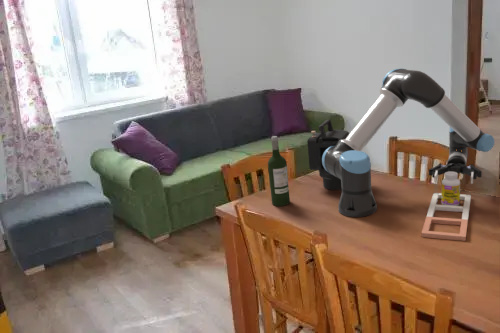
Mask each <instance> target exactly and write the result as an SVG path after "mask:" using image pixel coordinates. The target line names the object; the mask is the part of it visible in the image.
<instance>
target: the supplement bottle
mask: <svg viewBox="0 0 500 333" xmlns="http://www.w3.org/2000/svg"><path fill="white" fill-rule="evenodd" d="M458 175H459V174H458V173H457V172H452V171H450V172H445V173H444V178H443V179H442V180H441V193H442V199H441V205H452V206H460V204H461V202H460V194H461V181H460V179H459V178H458V177H459V176H458Z"/></svg>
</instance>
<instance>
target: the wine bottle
mask: <svg viewBox="0 0 500 333" xmlns="http://www.w3.org/2000/svg"><path fill="white" fill-rule="evenodd" d="M271 150H272V155H271V157H270V158H269V159H268V161H267V169H268V176H269V177H268V178H269V179H268V180H269V188H270V196H271V198H270V199H271V204H272V205H273V206H276V207H283V206H284V205H285V206H287V205H289V204H290V202H291V200H290V198H291V197H290V189H289V188H290V187H289V179H288V178H289V177H288V168H287V167H288V166H287V160H286V159H285V157H283V156H282V155H281V153H280V145H279V138H278V136H277V135H273V136H271Z"/></svg>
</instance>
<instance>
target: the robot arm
mask: <svg viewBox="0 0 500 333" xmlns="http://www.w3.org/2000/svg"><path fill="white" fill-rule="evenodd" d="M379 92H380V94H379V96H378V98H377V99H376V100H375V101H374V102H373V104H372V105H371V106H370V107H369V109H368V110H367V111H366V113H364V115H363V116H362V117H361V118H360V120H359V121H358V122H357V124H356V125H355V126H354V128H352V130H351V131H350V133H349V135H348V136H347V137H346V139H343V140H339V141H338V143H337V144H336V145H335V146H332V147H329V148H327V149H326V150H325V152H324V153H323V156H322V164H323V167H324V168H325V170H326V171H327V172H329V173H330V174H331V175H334V176H335V177H337V178H339V179H340V180H341V186H342V189H341V195H340V197H339V202H338V207H337V208H338V212H339V213H340V215H343V216H346V217H351V218H352V217H353V218H362V217H367V216H370V215H371V216H372V215H373V214H375V213H376V212H377V210H378V208H377V207H378V206H377V205H378V204H377V201H376V200H375V195H374V194H373V191H372V171H371V170H372V168H371V167H372V163H371V159H370V157H371V156H369V154H368V153H366V152H365V151H364V149H365V148H366V147H367V146H368V144H369V143H370V142H371V140H372V139H373V138H374V136H376V134H377V133H378V132H379V130H380V129H381V127H383V125H384V124H385V122H386V121H387V120H388V119H389V117H390V116H391V115H392V114H393V113H394V111H396V109H397V108H400V107H403V106H404V105H405V104H406V103H407V102H408V100H412V101H415V102H418V103H419V104H421V105H422V106H423V107H425V108H426V109H431V111H433V112H434V113H435V114H436V115H437V116H438V117H439V118H440V119H441V120H442V121H443V122H444V123H446V124H447V126H449V131H448V133H449V134H448V136H449V138H448V139H449V141H448V142H449V148H448V150H449V152H448V159H447V163H446V164H444V165H443V164H442V163H438V164H437V165H435V166H433V167H431V168H429V169H428V176H432V178H433V180H434V181H433V182H434V183H437V181H438V176H440V175H445V172H450V171H452V172H457V173H458V175H459V174H461V175H467V176H469V177H470V184H474V180H477V178H482V176H483V175H482V170H480V169H478V168H477V167H476V166H474V164H470V165H469V166H467V159H468V155H469V152H468V148H469V149H473V150H475V151H478V152H483V153H488V152H490V151H491V150H492V149H493V148H494V145H495V138H494V136H493V135H491V134H489V133H485V132H484V131H483V130H481V129H480V128H479V127H478V126H477V125H476V123H475V122H473V120H471V119H470V118H469V117H468V116H467V115H466V114H465V113H464V112H463V111H462V110H461V109H460V108H459V107H458V106H457V104H455V103H454V102H453V101H452V99H450V97H448V96H447V95H446V90H445V89H444V88H443V87H442V86H441V85H440V84H439V83H438V82H437V81H436V80H435V79H433V78H432V77H431V76H429V75H428V74H427V73H425V72H423V71H421V70H415V69H414V70H413V69H406V68H395V69H391V70H390V71H388V72H387V73H386V74H385V75H384V77H383V79H382V85H381V88H380V89H379ZM456 149H457V151H456ZM461 150H462V152H461Z"/></svg>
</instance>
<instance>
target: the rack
mask: <svg viewBox="0 0 500 333" xmlns="http://www.w3.org/2000/svg"><path fill="white" fill-rule="evenodd" d="M439 199H441V200H442V192H433V194H432V197H431V200H430V202H429V203H430V204H429V206H428V209H427V212H426V213H427V215H425V216H426V217H425V220H424V223H423V227H422V230H421V237H422V238H429V239H430V238H431V239H441V240H451V241H463V242H465V241H466V240H467V231H468V225H469V224H468V223H469V216H470V215H469V214H470V210H471V209H470V206H471V200H472V195H471V194H464V193H463V194H461V193H460V200H461V201H463V205H458V206H452V205H443V204H438V201H439ZM436 211H442V212H444V211H447V212H456V213H457V212H460V213H462V215H461V218H450V217H437V216H435V215H434V214H435V212H436ZM432 224H441V225H453V226H455V225H456V226H460V229H459V233H455V232H446V231H445V232H444V231H433V230H431V226H432Z"/></svg>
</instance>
